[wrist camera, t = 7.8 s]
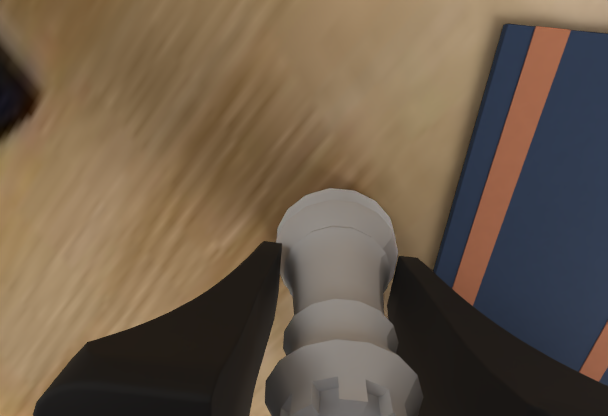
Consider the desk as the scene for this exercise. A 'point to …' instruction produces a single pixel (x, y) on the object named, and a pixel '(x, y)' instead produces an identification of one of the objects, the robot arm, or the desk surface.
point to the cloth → (538, 197)
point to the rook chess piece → (339, 313)
